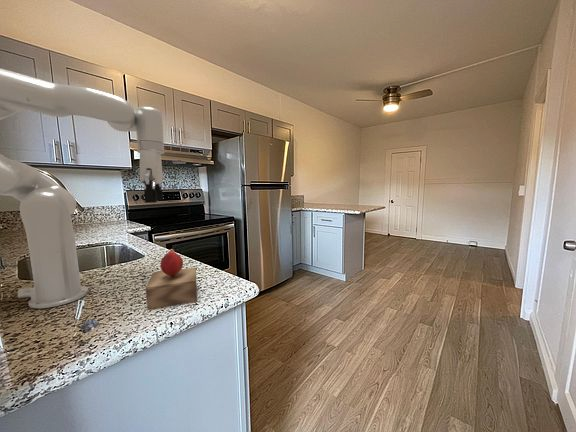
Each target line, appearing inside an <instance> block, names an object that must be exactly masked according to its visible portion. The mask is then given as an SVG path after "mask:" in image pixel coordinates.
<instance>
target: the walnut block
mask: <svg viewBox="0 0 576 432" xmlns="http://www.w3.org/2000/svg"><path fill="white" fill-rule="evenodd" d="M197 285H198V284H197V268H196V266H195V267H188V268H182V269H181V270H180V271H179V272H178V273H177V274H176V275H175V276H174V277H171V276H169V275H167V274H165V273H164V272H163V271H162V270H161V271H154V272H152V274H151V276H150V278H149V280H148V282H147V284H146V285H145V295H146V296H145V297H146V307H147V310H149V311H150V310H154V309H159V308H167V307H172V306H179V305H184V304H191V303H196V302H197V300H198V292H197V291H198V289H197V288H198V286H197Z"/></svg>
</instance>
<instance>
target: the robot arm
mask: <svg viewBox="0 0 576 432" xmlns="http://www.w3.org/2000/svg"><path fill="white" fill-rule="evenodd" d="M23 110H24V111H25V110H26V111H30V112H34V113H39V114H42V115H47V116H51V117H56V118H64V117H69V116H78V117H79V116H80V117H87V118H91V119H96V120H100V121H103V122H104V121H105V122H106V123H108V125H109V126H110V127H111V128H112V129H114V130H116V131H118V132H124V133H126V132H127V133H128V132H136V145H137V146H136V147H137V153H138V154H139V182H140V183H141V184H144V185H143V186H144V187H143V188H144V189H143V190H144V191H143V192H144V194H143V195H144V202H145V203H146V204H149V203H154V204H155V203H157V202H161V201H163V200H164V199H163V189H162V188H163V187H162V183H163V162H162V155H164V154H165V142H164V140H165V139H164V128H163V127H164V125H163V123H164V122H163V115H162V112H161V111H160V110H159V109H158V108H155V107H152V106H139V107H137V108H135V109H134V107H133V106H132V104H131V103H130V102H129V101H127V100H126V99H124V98H122V97H120V96H118V95H115V94H112V93H107V92H104V91H101V90H97V89H93V88H90V87H84V86H77V85H69V84H61V83H55V82H51V81H48V80H43V79H40V78H37V77H35V76H31V75H30V76H29V75H27V74H24V73H23V74H22V73H18V72H15V71H11V70H8V69H5V68H0V121H1V120H4V119H6V118H9V117H12V116H14V115H16V114H19V112H22V111H23ZM0 196H4V197H6V196H7V197H8V196H11V197H13V198H14V199H16V200H18V201H19V202H20V203H19V213H20V217H21V221H22V224H23V227H24V231H25V235H26V240H27V247H28V252H29V259H30V265H31V266H30V267H31V273H32V279H33V285H34V286H33V287H24V288H19V289H18V290H17V298H18V299H22V298H27V297H29V298H30V299H29V300H28V302H27V303H28V307H29V308H32V309H48V308H53V307H58V306H62V305H63V306H64V305H67V304H69V303H73V302H75V301H77V300H80V299H82V298H83V297H85V296H86V295H88V293H89V288H88V287H87V286H86V285H81V276H80V269H79V260H78V251H77V244H76V237H75V231H74V225H73V221H72V215H73V214H74V212H75V211H76V209H77V205H78V204H77V200H76V197H74V195H73V194H72V193H71V192H70V191H68V190H67V189H65V188H64V187H62V186H61V185H59V184H58V183H57V182H55V181H53V180H52V179H51V178H49V177H48V176H46V175H45V174H43V173H42V172H40V170H37V169H36V168H34V167H32V166H31V165H29V164H26V163H24V162H21V161H17V160H13V159H10V158H9V157H6V156H5V155H3V154H2V153H0Z"/></svg>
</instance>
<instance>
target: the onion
mask: <svg viewBox="0 0 576 432" xmlns="http://www.w3.org/2000/svg"><path fill="white" fill-rule="evenodd" d="M183 265H184V261H183V257H181V255H179V254H178V253H177V252H175V249H173V248H171V249H169V251H168V252H167V253H166V254H164V256H163V257H162V258H161V260H160V269H161V271H163V272H164V273H165V274H167V275H169V276H171V277H174V276H175V275H176V274H177V273H178V272H179V271H180V270H181V269H183Z"/></svg>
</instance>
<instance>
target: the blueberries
mask: <svg viewBox="0 0 576 432" xmlns="http://www.w3.org/2000/svg"><path fill="white" fill-rule="evenodd" d="M98 326H100V322H99V321H98V320H97V319H94V318H93V319H92V318H89V319H87V320H85V321H84V322H83V323H82V324H81V325H80V330H82V334H85V333H88V332H90V331H92V330H94V329H95V328H96V327H98ZM72 331H73V329H71V330H70V332H72Z"/></svg>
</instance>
